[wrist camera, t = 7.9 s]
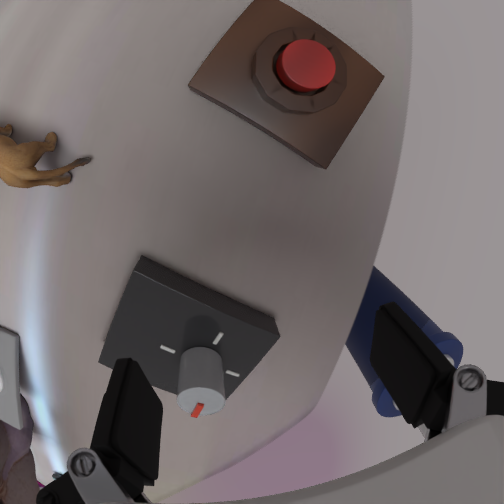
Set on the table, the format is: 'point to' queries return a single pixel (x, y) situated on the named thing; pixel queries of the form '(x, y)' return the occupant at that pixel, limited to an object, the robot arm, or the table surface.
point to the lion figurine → (31, 162)
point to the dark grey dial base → (184, 327)
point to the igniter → (276, 92)
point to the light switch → (10, 379)
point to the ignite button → (305, 66)
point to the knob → (201, 382)
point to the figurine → (17, 462)
